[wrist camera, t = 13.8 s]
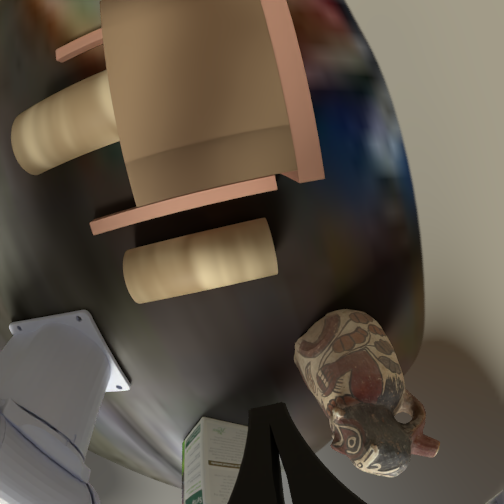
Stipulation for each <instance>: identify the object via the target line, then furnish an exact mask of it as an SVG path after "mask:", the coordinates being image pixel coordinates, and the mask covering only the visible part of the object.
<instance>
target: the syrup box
mask: <svg viewBox="0 0 504 504" xmlns="http://www.w3.org/2000/svg"><path fill="white" fill-rule="evenodd" d="M247 432H248V426H244V425H239V424H234V423H230V422H225V421H221V420H216V419H212V418H207V417H202V418H201V419H200V421H199V422H198V423H197V425H196V426H195V427H194V428H193V430H192V431H191V432H190V434H189V435H188V436H187V438H186V439H185V440H184V442H183V443H182V504H227V503H228V501H229V498H230V496H231V493H232V491H233V488H234V485H235V482H236V479H237V476H238V473H239V469H240V466H241V462H242V459H243V454H244V449H245V444H246V439H247Z"/></svg>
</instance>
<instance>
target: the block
mask: <svg viewBox="0 0 504 504" xmlns="http://www.w3.org/2000/svg"><path fill="white" fill-rule="evenodd" d="M100 13H101V26H102V36H103V45H104V54H105V61H106V69H107V75H108V82H109V88H110V94H111V100H112V105H113V110H114V116H115V121H116V126H117V130H118V135H119V140H120V144H121V148H122V153H123V157H124V161H125V165H126V169H127V173H128V177H129V181H130V185H131V188H132V192H133V196H134V199H135V203H136V206H137V207H140V206H143V205H147V204H150V203H154V202H158V201H161V200H165V199H169V198H173V197H177V196H180V195H184V194H188V193H192V192H196V191H200V190H205V189H209V188H213V187H217V186H222V185H226V184H231V183H235V182H240V181H244V180H249V179H254V178H259V177H264V176H269V175H274V174H279V173H285V172H290V171H296V170H298V168H297V162H296V157H295V151H294V146H293V140H292V135H291V129H290V124H289V119H288V114H287V109H286V104H285V100H284V95H283V90H282V86H281V81H280V77H279V72H278V68H277V63H276V59H275V55H274V51H273V47H272V43H271V39H270V35H269V31H268V27H267V23H266V19H265V16H264V12H263V8H262V5H261V1H260V0H101V1H100Z"/></svg>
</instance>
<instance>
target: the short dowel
mask: <svg viewBox="0 0 504 504" xmlns="http://www.w3.org/2000/svg"><path fill="white" fill-rule="evenodd" d="M123 273H124V279H125V283H126V286H127V289H128V291H129V293H130V295H131V297H132V298H133V300H134V301H135V302H137V303H139V304H141V303H146V302H151V301H156V300H161V299H166V298H171V297H176V296H181V295H186V294H190V293H195V292H200V291H204V290H209V289H214V288H218V287H223V286H227V285H232V284H237V283H241V282H245V281H250V280H254V279H259V278H263V277H267V276H272V275H276V274H278V266H277V259H276V254H275V249H274V244H273V240H272V236H271V232H270V229H269V226H268V223H267V220H266V218H260V219H255V220H251V221H246V222H242V223H237V224H233V225H228V226H224V227H220V228H215V229H211V230H207V231H202V232H198V233H194V234H190V235H186V236H181V237H177V238H173V239H169V240H165V241H161V242H157V243H153V244H149V245H145V246H141V247H137V248H133V249H129V250H127V251H126V252H125V254H124V258H123Z"/></svg>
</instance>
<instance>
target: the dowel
mask: <svg viewBox="0 0 504 504" xmlns="http://www.w3.org/2000/svg"><path fill="white" fill-rule="evenodd" d="M118 141H120V140H119V135H118V130H117V126H116V121H115V116H114V110H113V105H112V100H111V94H110V88H109V82H108V75H107V70H105V71H102V72H100V73H97V74H95V75H93V76H90V77H88V78H86V79H84V80H82V81H79V82H77V83H75V84H73V85H71V86H69V87H67V88H65V89H63V90H61V91H59V92H57V93H55V94H53V95H51V96H50V97H48V98H46V99H44V100H42V101H41V102H39V103H37V104H35V105H34V106H32V107H30V108H29V109H27V110H25V111H24V112H22V113H21V114H19V115H18V116H17V117H16V119H15V120H14V123H13V126H12V130H11V143H12V148H13V152H14V155H15V157H16V159H17V161H18V163H19V164H20V166H21V167H22V168H23V169H24V170H25V171H26V172H28V173H30V174H32V175H39V174H41V173H43V172H45V171H47V170H50V169H52V168H54V167H56V166H58V165H60V164H63V163H65V162H67V161H70V160H72V159H74V158H77V157H79V156H81V155H84V154H86V153H89V152H91V151H94V150H97V149H99V148H102V147H104V146H107V145H110V144H113V143H115V142H118Z"/></svg>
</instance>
